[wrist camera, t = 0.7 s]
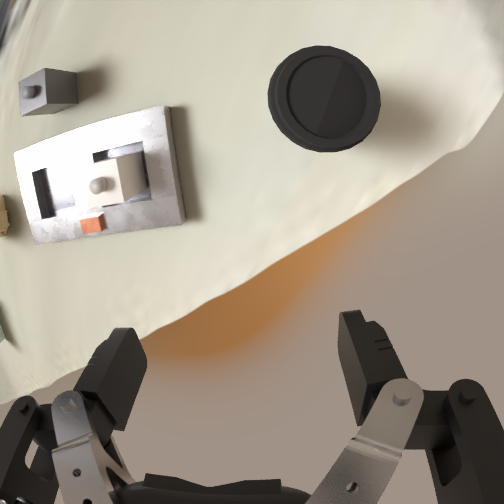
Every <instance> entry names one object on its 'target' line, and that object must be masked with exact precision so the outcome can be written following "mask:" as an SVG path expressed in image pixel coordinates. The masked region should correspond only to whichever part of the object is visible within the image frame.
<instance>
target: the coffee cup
mask: <svg viewBox="0 0 504 504" xmlns="http://www.w3.org/2000/svg"><path fill="white" fill-rule="evenodd" d="M268 106H269V109H270V112H271V115H272V118H273V120H274V122H275V123H276V125H277V126H278V128H279V129H280V131H281V132H282V133H283V134H284V135H285V136H286V137H288V138H289V139H290V140H291V141H292V142H294V143H295V144H297V145H299V146H301V147H303V148H305V149H308V150H312V151H316V152H338V151H342V150H346V149H350V148H352V147H353V146H355V145H357V144H359V143H360V142H362V141H363V140H364V139H365V138H366V137H367V136H368V135H369V134H370V133H371V131H372V129H373V127H374V126H375V124H376V122H377V119H378V116H379V111H380V106H381V103H380V91H379V88H378V85H377V82H376V79H375V78H374V76H373V75H372V73H371V71H370V70H369V68H368V67H367V66H366V65H365V64H364V63H363V62H362V61H361V60H360V59H358V58H357V57H355V56H353V55H352V54H350V53H348V52H346V51H344V50H341V49H338V48H335V47H331V46H312V47H307V48H303V49H300V50H299V51H297V52H295V53H293V54H291V55H289V56H288V57H287V58H286V59H285V60H284V61H283V62H282V63H281V64H280V65H279V66H278V67H277V68H276V70H275V72H274V73H273V75H272V77H271V79H270V84H269V88H268Z"/></svg>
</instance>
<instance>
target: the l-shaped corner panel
mask: <svg viewBox="0 0 504 504" xmlns="http://www.w3.org/2000/svg"><path fill="white" fill-rule="evenodd" d="M4 338H5V336H4V333H3V330H2V328H1V325H0V343H1V342H2V340H3V339H4Z"/></svg>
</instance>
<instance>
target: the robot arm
mask: <svg viewBox="0 0 504 504" xmlns="http://www.w3.org/2000/svg"><path fill="white" fill-rule="evenodd" d="M338 354H339V358H340V362H341V366H342V370H343V373H344V377H345V380H346V384H347V388H348V392H349V396H350V399H351V403H352V407H353V411H354V415H355V419H356V423H357V426H361V428H360V430H359V432H358V433H357V435H356V436H355V437H354V438H352V439H351V440H350V441H349V442H348V444H347V445H346V447H345V448H344V450H343V452H342V453H341V455H340V456H339V458H338V459H337V461H336V462H335V464H334V465H333V466H332V468H331V470H330V471H329V472H328V474H327V475H326V477H325V478H324V479H323V481H322V482H321V483H320V485H319V486H318V487H317V489H316V490H315V492H314V493H313V494H312V495H310V494H308V493H306V492H303V491H301V490H298V489H294V488H290V487H284V486H282V485H281V480H280V479H271V480H244V481H240V482H235V483H230V484H225V485H220V486H214V487H205V486H202V485H199V484H195V483H192V482H189V481H186V480H183V479H180V478H177V477H170V476H162V475H154V474H148V473H146V475H145V479H144V481H141V482H135V480H134V479H133V478H132V476H131V475H130V473H129V471H128V470H127V467H126V465H125V463H124V461H123V459H122V457H121V454H120V452H119V450H118V447H117V445H116V443H115V440H114V438H113V437H112V435H111V434H112V431H113V430H120V431H124V429H125V427H126V424H127V420H128V418H129V415H130V413H131V410H132V407H133V404H134V401H135V398H136V396H137V393H138V391H139V388H140V385H141V383H142V380H143V377H144V374H145V372H146V369H147V358H146V355H145V352H144V350H143V348H142V346H141V343H140V341H139V339H138V336H137V334H136V332H135V330H134V329H133V328H115V329H114V330H113V331H112V333H111V335H110V336H109V338H108V340H105V341H104V342H103V343H101V344H100V345H99V346H98V347H97V348H96V350H95V352H94V353H93V355H92V358H91V359H90V360H89V362H88V366H86V367H85V369H84V371H83V373H82V374H81V377H80V378H79V380H78V382H77V384H76V385H75V387H74V389H73V391H72V390H71V391H66V392H63V393H61V394H59V395H58V396H57V397H56V398H55V399H54V401H53V403H52V404H43V405H39V404H38V403H37V402H36V400H35V399H34V398H33V397H31V396H23V397H20V398H19V399H17V400H16V401H15V402H14V404H13V405H12V407H11V409H10V410H9V412H8V414H7V416H6V418H5V420H4V422H3V424H2V426H1V428H0V504H54V501H55V498H56V495H57V491H58V488H59V486H60V490H61V493H62V496H63V500H64V502H65V504H377V502H378V500H379V499H380V497H381V495H382V493H383V491H384V490H385V488H386V486H387V484H388V482H389V481H390V478H391V477H392V475H393V473H394V471H395V469H396V467H397V465H398V463H399V460H400V458H401V456H402V455H401V454H402V452H403V449H425V451H426V455H427V459H428V463H429V466H430V470H431V474H432V478H433V483H434V487H435V491H436V496H437V500H438V504H504V430H503V428H502V425H501V423H500V421H499V419H498V417H497V415H496V412H495V410H494V408H493V406H492V404H491V402H490V400H489V398H488V396H487V394H486V392H485V390H484V388H483V387H482V386H481V385H480V384H479V383H478V382H476V381H473V380H470V379H462V380H458V381H456V382H454V383H453V384H452V385H451V387H450V389H449V391H428V390H423V389H422V388H421V387H420V386H419V385H418V384H417V383H416V382H414V381H412V380H409V379H408V378H407V376H406V374H405V372H404V369H403V367H402V365H401V363H400V361H399V359H398V356H397V355H396V352H395V350H394V349H393V346H392V344H391V342H390V340H389V338H388V336H387V334H386V332H385V330H384V328H383V327H381V326H380V325H379V324H378V323H376V322H375V321H370V322H366V321H365V319H364V317H363V315H362V313H361V311H360V310H353V311H346V312H340V314H339V331H338ZM32 440H33V441H34V442H35V443H36V444H37V445H38V449H37V451H36V454H35V456H34V459H33V462H32V464H31V467H30V469H29V468H28V467H27V466H26V464H25V456H26V453H27V451H28V448H29V446H30V444H31V442H32Z"/></svg>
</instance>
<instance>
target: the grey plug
mask: <svg viewBox="0 0 504 504" xmlns="http://www.w3.org/2000/svg"><path fill="white" fill-rule="evenodd" d="M19 101H20V114H21V116H30V115H43V114H54V113H56V112H58V111H61V110H63V109H66V108H69V107H71V106H74V105H76V104H78V99H77V87H76V73H74V72H68V71H62V70H56V69H49V68H44V69H42V70H40V71H38V72H36V73H34V74H32V75H30V76H29V77H27V78H25V79H23V80H22V81H20V82H19Z"/></svg>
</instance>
